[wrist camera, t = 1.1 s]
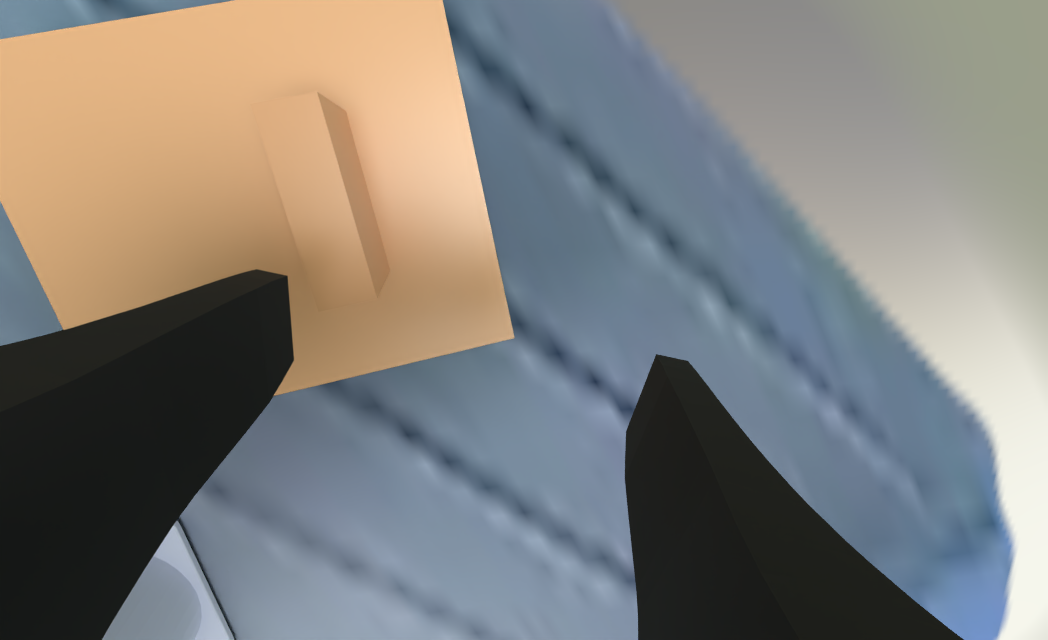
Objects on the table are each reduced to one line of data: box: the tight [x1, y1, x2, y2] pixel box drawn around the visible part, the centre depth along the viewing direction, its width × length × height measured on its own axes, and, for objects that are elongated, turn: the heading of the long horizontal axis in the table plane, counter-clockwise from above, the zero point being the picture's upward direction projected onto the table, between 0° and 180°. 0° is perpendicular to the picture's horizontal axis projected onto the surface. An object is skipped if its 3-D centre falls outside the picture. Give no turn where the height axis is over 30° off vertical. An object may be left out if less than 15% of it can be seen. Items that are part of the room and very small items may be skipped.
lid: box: [0, 0, 514, 396], centre depth 15 cm, size 14×12×5 cm
